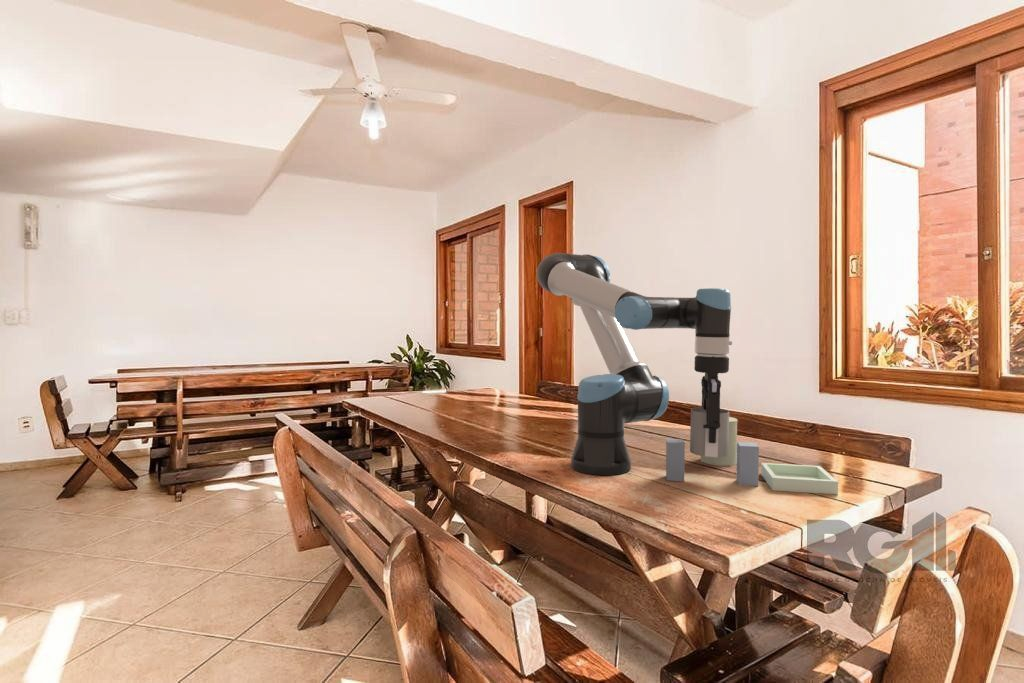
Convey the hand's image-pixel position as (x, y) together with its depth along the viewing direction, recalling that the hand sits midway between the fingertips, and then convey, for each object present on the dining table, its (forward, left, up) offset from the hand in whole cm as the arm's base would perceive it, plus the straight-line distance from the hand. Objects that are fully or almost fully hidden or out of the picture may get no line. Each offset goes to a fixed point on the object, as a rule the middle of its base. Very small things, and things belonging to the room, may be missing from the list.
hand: (709, 451), depth 130 cm
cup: (0, 0, -1) cm, 1 cm away
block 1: (-8, 0, -7) cm, 10 cm away
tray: (+19, +2, -7) cm, 21 cm away
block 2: (+8, 0, -7) cm, 11 cm away
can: (+4, +19, -7) cm, 20 cm away
